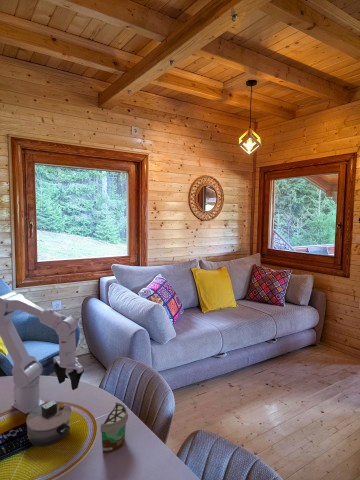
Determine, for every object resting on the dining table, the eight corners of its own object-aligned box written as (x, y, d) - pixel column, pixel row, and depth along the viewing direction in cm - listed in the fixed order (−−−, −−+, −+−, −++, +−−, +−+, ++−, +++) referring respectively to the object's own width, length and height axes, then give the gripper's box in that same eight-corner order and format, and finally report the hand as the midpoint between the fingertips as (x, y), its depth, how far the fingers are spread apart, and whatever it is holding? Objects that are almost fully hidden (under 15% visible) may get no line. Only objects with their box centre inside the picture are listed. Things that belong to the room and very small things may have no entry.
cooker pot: (14, 433, 106) (14, 418, 105) (49, 412, 117) (48, 399, 116) (48, 455, 96) (47, 440, 96) (82, 430, 107) (82, 417, 107)
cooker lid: (17, 421, 104) (17, 408, 104) (54, 400, 116) (54, 388, 116) (43, 437, 97) (43, 424, 96) (80, 413, 109) (80, 401, 108)
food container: (119, 459, 95) (119, 428, 94) (100, 456, 96) (100, 425, 96) (133, 431, 107) (133, 403, 106) (116, 428, 108) (116, 401, 108)
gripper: (89, 351, 116) (90, 386, 117) (64, 341, 124) (65, 375, 125) (73, 358, 110) (74, 395, 111) (48, 348, 118) (49, 383, 119)
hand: (68, 385), depth 118 cm, fingers open, 7 cm apart
